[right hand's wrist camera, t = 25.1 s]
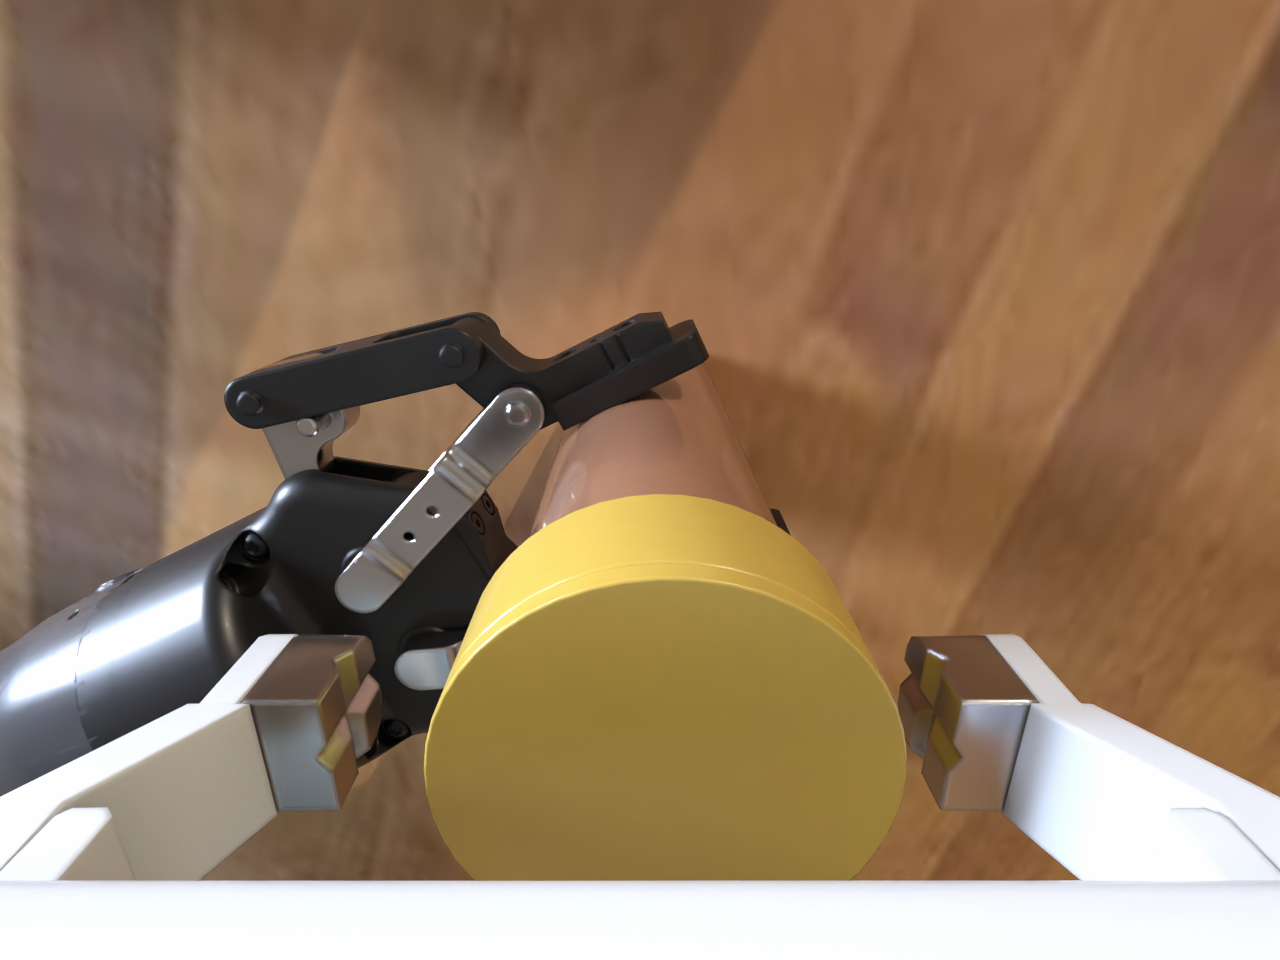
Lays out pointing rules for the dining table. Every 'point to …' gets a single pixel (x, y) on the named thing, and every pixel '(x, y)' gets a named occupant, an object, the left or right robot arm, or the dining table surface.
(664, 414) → the jar
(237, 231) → the dining table surface
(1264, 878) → the right robot arm
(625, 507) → the lid
